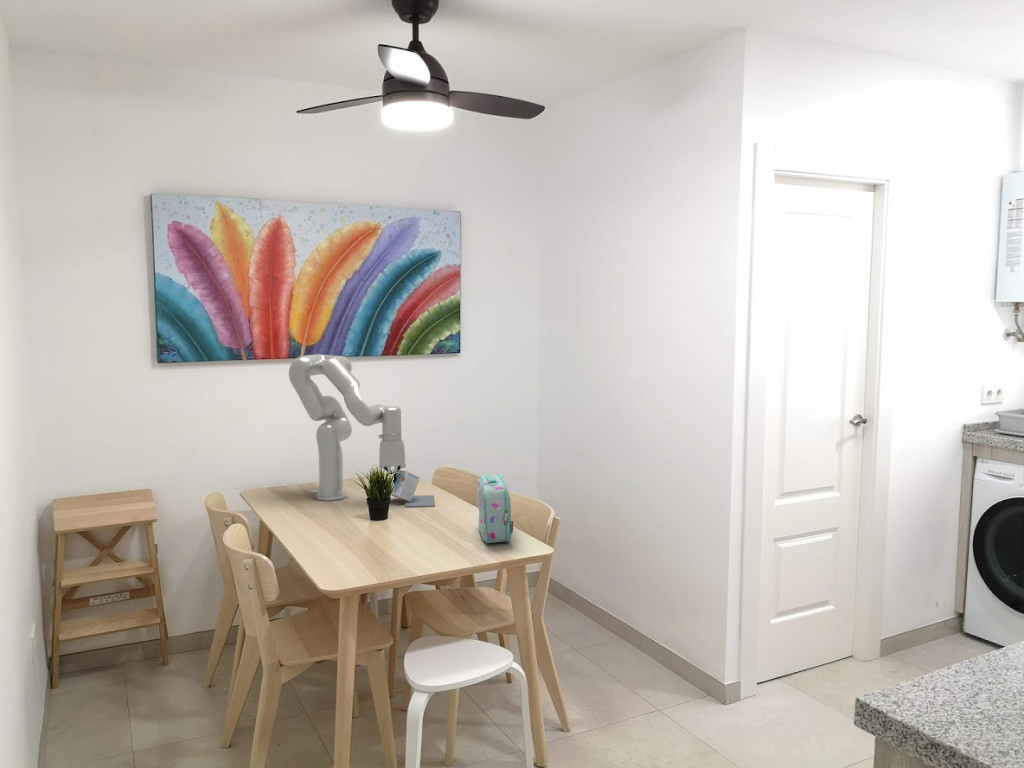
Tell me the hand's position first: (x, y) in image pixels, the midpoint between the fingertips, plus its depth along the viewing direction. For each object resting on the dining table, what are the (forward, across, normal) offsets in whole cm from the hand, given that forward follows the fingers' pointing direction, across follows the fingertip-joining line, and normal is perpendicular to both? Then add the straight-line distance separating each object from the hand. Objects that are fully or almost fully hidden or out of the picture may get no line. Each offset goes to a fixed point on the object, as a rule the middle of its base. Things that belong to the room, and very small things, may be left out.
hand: (392, 482), depth 314 cm
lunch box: (+9, +36, -48) cm, 61 cm away
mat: (+8, +11, 0) cm, 14 cm away
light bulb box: (+6, +2, 0) cm, 7 cm away
